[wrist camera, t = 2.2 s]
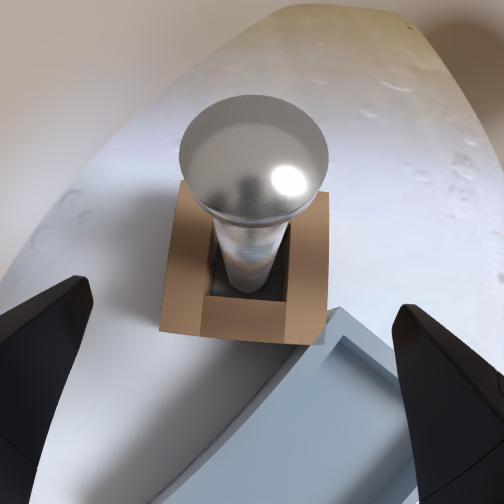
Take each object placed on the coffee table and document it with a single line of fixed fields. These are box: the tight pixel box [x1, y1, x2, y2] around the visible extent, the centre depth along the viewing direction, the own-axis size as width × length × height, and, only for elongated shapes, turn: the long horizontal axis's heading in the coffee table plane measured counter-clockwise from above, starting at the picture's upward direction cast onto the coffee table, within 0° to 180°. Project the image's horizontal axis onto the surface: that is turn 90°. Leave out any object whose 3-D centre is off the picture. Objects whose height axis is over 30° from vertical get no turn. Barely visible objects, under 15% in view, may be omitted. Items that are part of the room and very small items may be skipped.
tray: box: [148, 307, 419, 504], centre depth 14 cm, size 20×12×4 cm, turn 140°
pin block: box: [159, 180, 329, 345], centre depth 17 cm, size 8×8×4 cm
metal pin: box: [179, 95, 329, 293], centre depth 13 cm, size 3×3×13 cm
